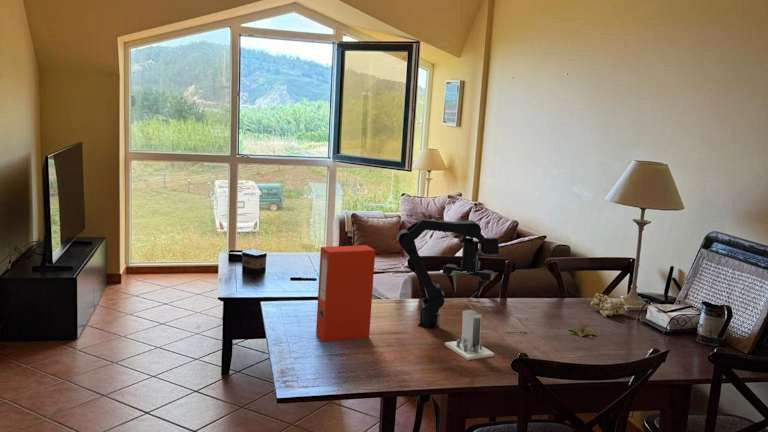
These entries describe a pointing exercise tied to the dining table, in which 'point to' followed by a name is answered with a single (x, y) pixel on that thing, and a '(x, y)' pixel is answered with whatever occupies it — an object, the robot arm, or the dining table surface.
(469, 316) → the block
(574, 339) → the dining table surface
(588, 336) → the olive green spiky piece
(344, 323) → the file binder
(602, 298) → the mineral formation
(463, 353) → the white pegged base
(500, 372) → the dining table surface
